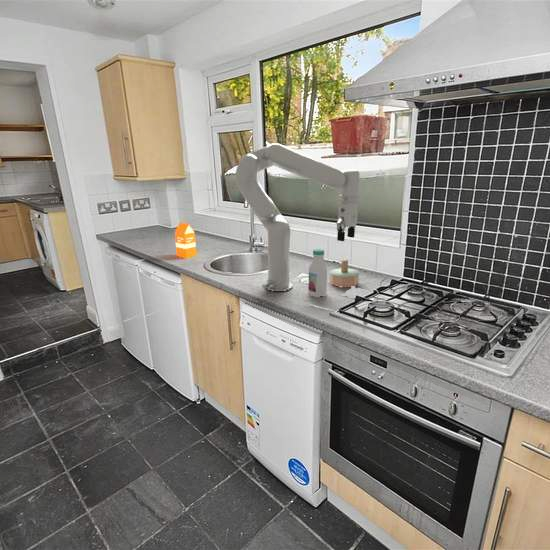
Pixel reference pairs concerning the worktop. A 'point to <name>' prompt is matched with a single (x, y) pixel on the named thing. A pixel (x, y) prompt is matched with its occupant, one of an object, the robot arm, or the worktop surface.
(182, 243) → the orange juice
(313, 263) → the milk bottle
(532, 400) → the worktop surface
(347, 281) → the bowl
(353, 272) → the lid
